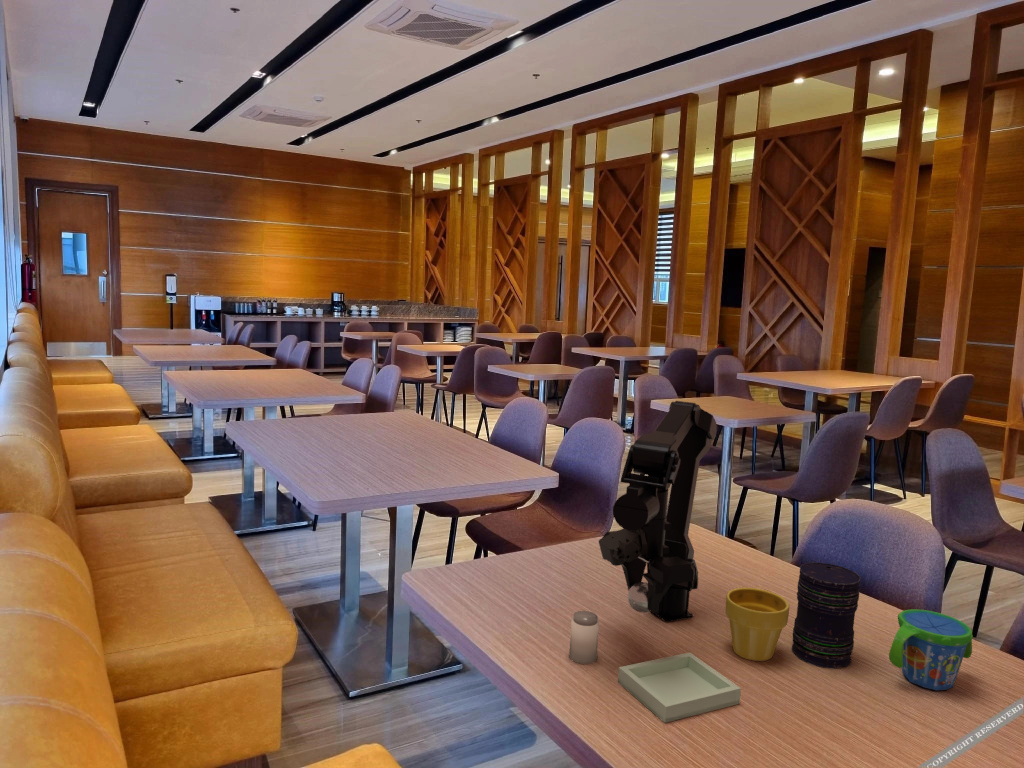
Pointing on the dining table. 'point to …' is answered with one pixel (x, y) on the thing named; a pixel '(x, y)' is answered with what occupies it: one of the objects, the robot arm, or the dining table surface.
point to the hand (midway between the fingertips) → (642, 604)
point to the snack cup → (930, 648)
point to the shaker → (584, 637)
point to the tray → (678, 686)
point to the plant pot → (755, 621)
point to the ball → (639, 597)
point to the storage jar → (825, 615)
